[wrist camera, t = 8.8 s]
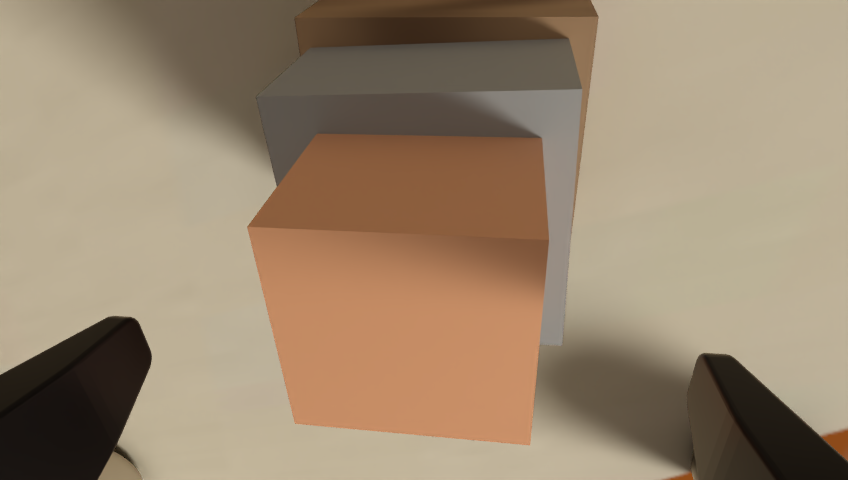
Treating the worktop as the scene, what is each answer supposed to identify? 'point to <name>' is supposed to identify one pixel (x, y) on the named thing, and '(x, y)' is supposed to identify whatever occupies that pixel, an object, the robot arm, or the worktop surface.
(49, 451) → the robot arm
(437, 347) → the terracotta block
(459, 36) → the walnut base block
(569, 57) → the slate top block
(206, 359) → the worktop surface
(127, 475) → the plastic bottle
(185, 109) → the worktop surface
